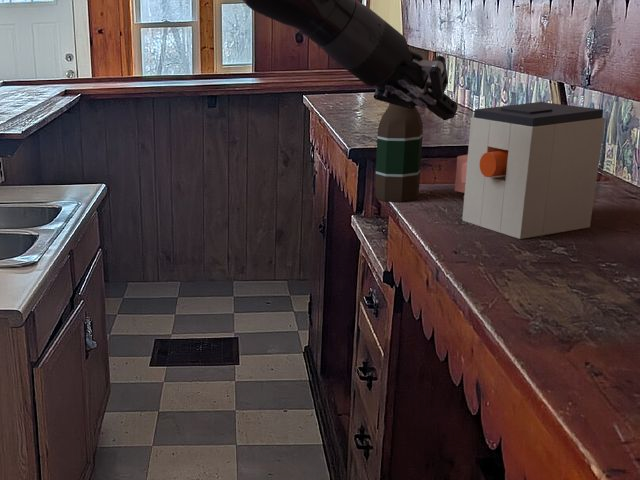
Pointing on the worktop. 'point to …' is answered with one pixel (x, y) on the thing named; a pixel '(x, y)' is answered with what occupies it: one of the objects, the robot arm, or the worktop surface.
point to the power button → (494, 163)
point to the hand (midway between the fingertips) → (451, 113)
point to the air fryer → (534, 168)
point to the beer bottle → (398, 154)
